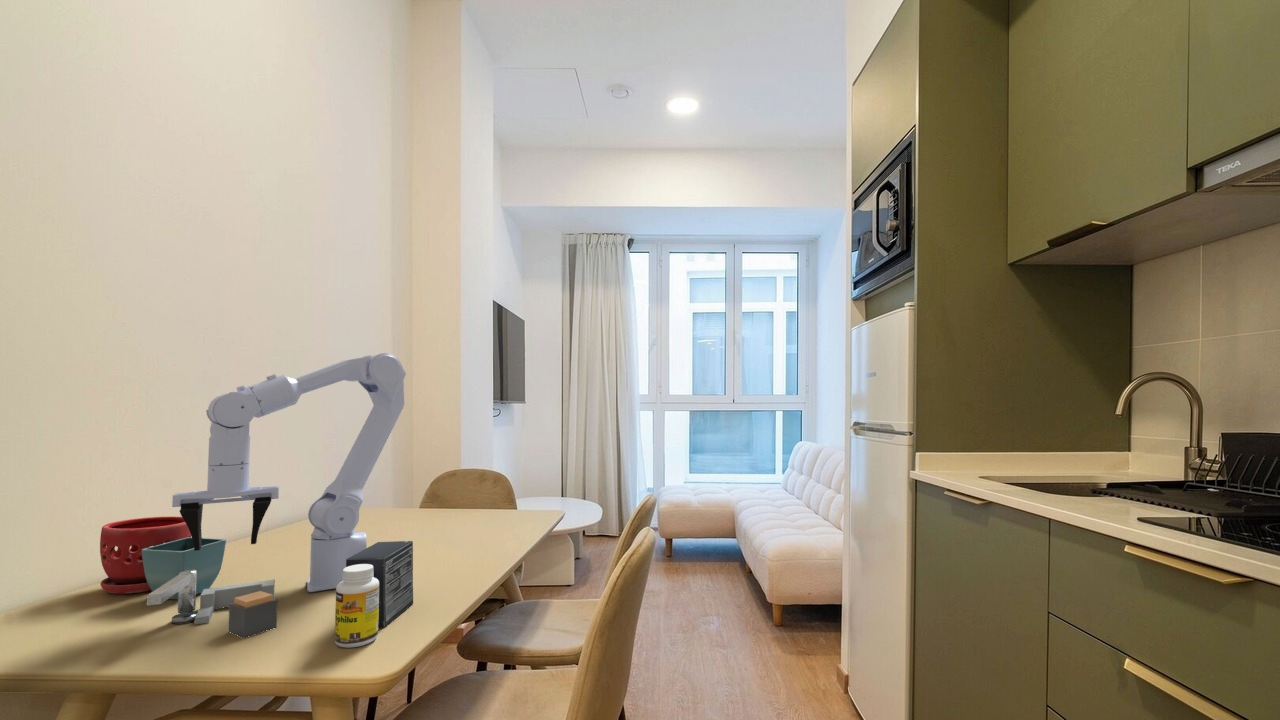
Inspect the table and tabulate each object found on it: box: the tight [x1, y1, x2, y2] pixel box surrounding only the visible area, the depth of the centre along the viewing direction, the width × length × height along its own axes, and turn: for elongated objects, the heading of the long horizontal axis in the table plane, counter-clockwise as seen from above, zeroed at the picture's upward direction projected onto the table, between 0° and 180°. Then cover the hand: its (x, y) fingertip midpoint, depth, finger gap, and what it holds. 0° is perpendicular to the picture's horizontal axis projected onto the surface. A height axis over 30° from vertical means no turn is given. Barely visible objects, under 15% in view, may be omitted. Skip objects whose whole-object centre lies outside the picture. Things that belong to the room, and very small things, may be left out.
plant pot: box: [99, 516, 192, 595], centre depth 109 cm, size 13×13×12 cm
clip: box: [146, 570, 197, 614], centre depth 87 cm, size 12×2×6 cm, turn 18°
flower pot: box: [142, 536, 227, 601], centre depth 103 cm, size 9×9×9 cm
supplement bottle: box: [334, 564, 379, 649], centre depth 83 cm, size 6×6×10 cm
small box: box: [346, 540, 414, 629], centre depth 93 cm, size 11×6×10 cm, turn 178°
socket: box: [194, 579, 276, 626], centre depth 96 cm, size 10×8×3 cm
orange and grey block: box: [228, 591, 278, 639], centre depth 87 cm, size 4×4×5 cm
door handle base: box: [171, 610, 199, 625], centre depth 91 cm, size 4×4×1 cm
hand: (226, 546), depth 98 cm, fingers open, 7 cm apart
